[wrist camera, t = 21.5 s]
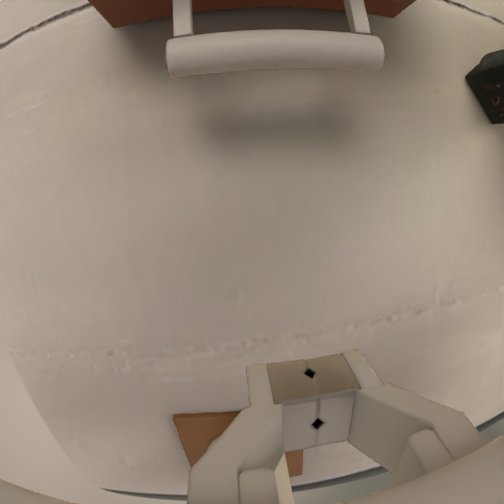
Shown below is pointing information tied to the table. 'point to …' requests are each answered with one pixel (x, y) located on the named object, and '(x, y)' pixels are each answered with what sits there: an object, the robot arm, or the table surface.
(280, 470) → the container
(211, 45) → the drawer
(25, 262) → the table surface
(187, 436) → the coaster
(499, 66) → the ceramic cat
